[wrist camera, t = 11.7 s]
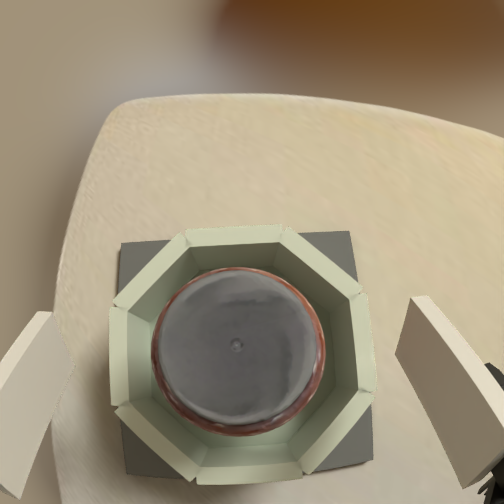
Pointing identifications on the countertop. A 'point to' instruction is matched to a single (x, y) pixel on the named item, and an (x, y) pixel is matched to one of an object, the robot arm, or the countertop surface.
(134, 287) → the bowl
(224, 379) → the supplement bottle
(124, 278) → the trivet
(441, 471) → the countertop surface
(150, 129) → the countertop surface
